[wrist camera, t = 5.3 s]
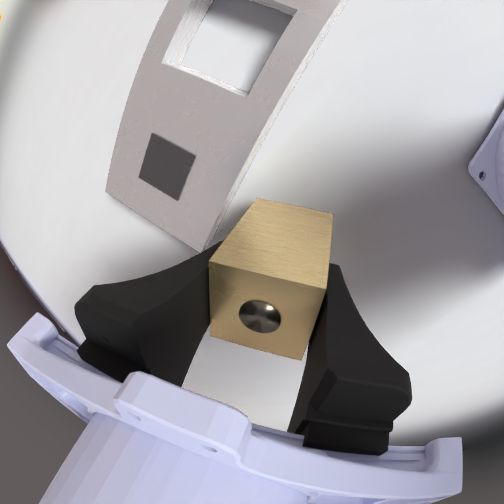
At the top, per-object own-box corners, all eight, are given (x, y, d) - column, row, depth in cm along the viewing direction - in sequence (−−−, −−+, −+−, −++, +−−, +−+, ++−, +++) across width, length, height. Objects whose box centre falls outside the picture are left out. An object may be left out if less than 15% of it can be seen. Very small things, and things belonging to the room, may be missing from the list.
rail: (395, -65, 5) (401, -81, 3) (212, 237, 19) (199, 253, 17) (269, -104, 4) (260, -119, 3) (123, 181, 18) (104, 192, 17)
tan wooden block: (333, 214, 14) (325, 290, 9) (317, 276, 16) (301, 361, 11) (256, 198, 14) (207, 261, 9) (250, 261, 16) (210, 337, 12)
